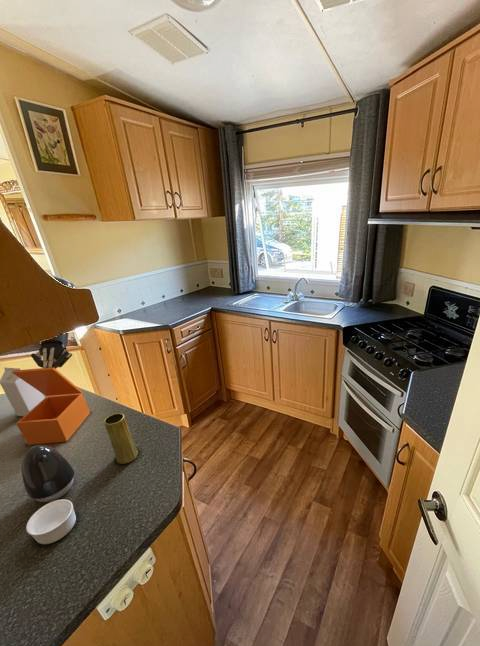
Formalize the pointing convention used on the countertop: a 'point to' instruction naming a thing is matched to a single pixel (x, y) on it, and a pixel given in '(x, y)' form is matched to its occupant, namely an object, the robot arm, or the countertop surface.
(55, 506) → the ramekin
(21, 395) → the milk carton
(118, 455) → the vase
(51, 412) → the box
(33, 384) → the lid
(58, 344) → the robot arm
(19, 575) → the countertop surface
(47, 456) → the dark rounded cone
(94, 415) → the countertop surface
